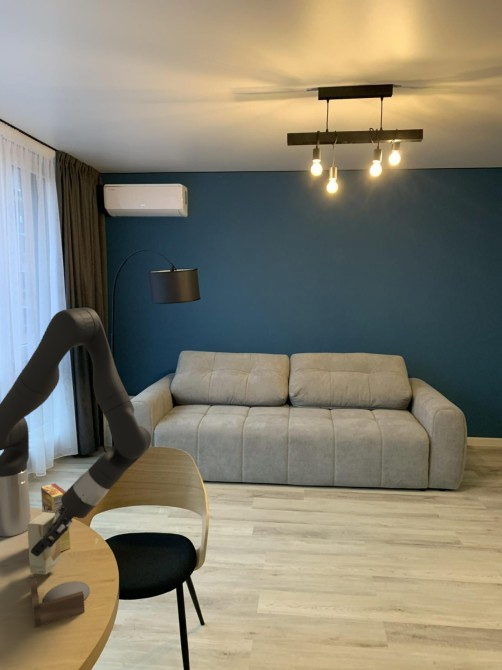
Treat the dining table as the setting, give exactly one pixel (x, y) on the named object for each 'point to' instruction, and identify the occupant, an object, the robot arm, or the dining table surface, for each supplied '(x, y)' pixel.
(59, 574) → the dining table surface
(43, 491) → the candy box
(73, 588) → the pad
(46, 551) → the skincare box
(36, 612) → the corner guide
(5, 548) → the dining table surface
